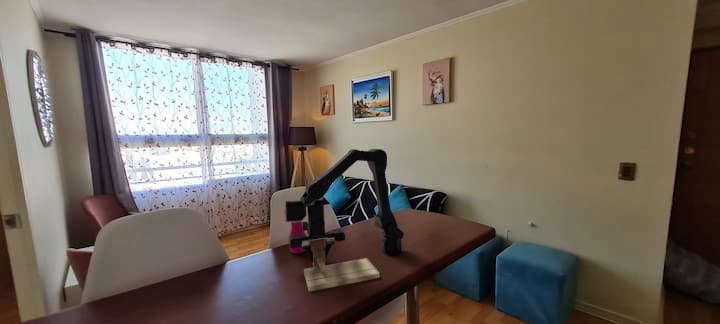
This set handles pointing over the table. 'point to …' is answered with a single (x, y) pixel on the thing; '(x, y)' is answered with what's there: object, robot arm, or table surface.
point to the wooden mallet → (319, 259)
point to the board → (340, 274)
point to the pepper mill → (296, 229)
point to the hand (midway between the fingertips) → (318, 261)
